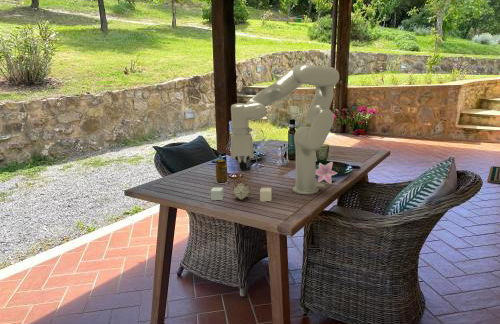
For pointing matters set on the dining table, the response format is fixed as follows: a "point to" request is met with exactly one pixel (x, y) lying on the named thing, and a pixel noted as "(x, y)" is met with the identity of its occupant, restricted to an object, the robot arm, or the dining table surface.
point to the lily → (325, 172)
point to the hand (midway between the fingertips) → (243, 170)
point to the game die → (241, 191)
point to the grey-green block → (217, 194)
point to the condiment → (221, 171)
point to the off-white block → (265, 194)
